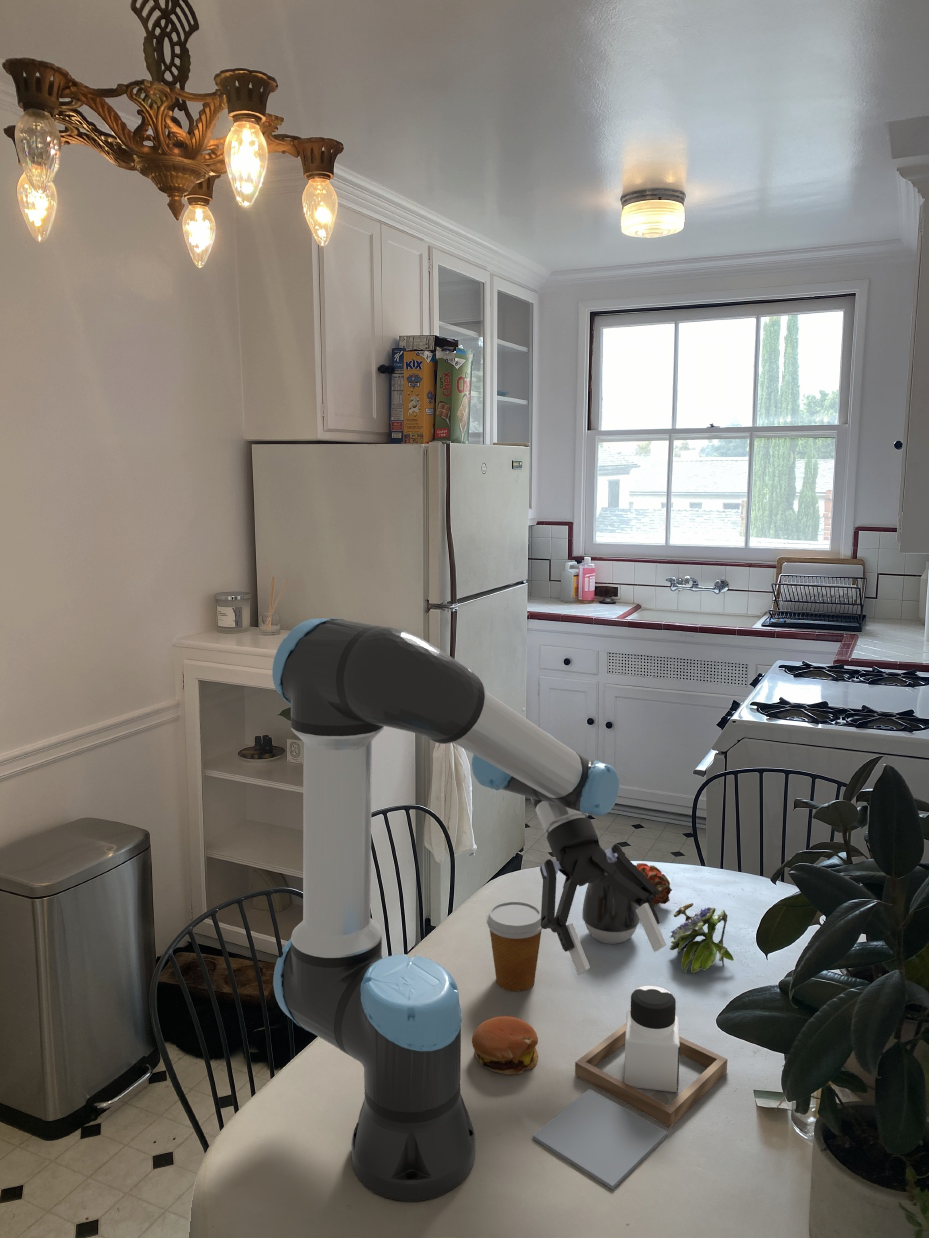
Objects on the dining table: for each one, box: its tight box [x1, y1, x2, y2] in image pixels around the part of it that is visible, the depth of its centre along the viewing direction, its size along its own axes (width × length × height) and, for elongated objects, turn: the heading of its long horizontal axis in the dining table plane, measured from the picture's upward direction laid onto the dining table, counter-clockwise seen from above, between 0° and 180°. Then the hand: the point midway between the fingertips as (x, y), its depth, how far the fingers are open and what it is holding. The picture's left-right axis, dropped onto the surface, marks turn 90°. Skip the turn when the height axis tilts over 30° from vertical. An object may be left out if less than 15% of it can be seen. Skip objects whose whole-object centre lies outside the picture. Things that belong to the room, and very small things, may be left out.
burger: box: [471, 1015, 539, 1076], centre depth 129 cm, size 10×9×5 cm
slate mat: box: [532, 1088, 668, 1190], centre depth 114 cm, size 12×12×1 cm
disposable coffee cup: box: [485, 900, 544, 992], centre depth 148 cm, size 10×10×12 cm
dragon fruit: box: [634, 862, 673, 908], centre depth 176 cm, size 8×8×12 cm
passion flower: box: [668, 902, 734, 974], centre depth 155 cm, size 11×11×12 cm
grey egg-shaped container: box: [581, 851, 641, 945], centre depth 162 cm, size 10×10×15 cm
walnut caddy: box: [574, 1022, 728, 1128], centre depth 126 cm, size 15×15×2 cm
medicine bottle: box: [623, 985, 680, 1093], centre depth 125 cm, size 7×7×12 cm
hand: (623, 959), depth 131 cm, fingers open, 13 cm apart
